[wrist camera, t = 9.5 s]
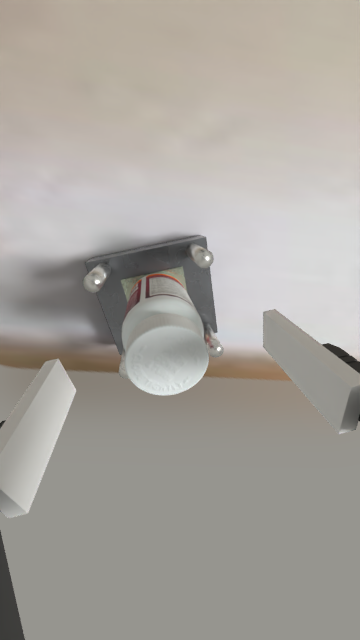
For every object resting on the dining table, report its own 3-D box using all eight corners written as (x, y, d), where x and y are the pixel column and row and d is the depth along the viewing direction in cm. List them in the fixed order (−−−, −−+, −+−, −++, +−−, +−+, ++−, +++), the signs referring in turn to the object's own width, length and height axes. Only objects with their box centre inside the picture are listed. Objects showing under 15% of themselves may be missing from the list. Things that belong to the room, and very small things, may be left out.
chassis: (90, 258, 23) (67, 275, 16) (200, 235, 23) (221, 242, 17) (122, 343, 28) (114, 384, 21) (211, 323, 28) (232, 356, 22)
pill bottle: (145, 333, 24) (144, 415, 14) (118, 286, 22) (92, 346, 12) (195, 312, 24) (229, 380, 14) (173, 261, 21) (197, 300, 11)
